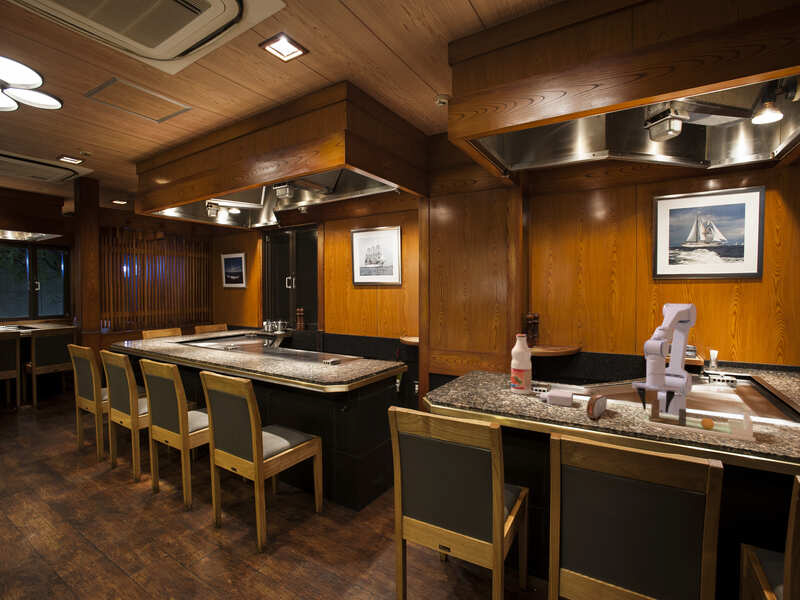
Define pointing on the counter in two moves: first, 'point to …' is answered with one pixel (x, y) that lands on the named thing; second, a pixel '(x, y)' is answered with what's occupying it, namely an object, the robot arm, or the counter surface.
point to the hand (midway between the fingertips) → (655, 410)
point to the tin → (596, 406)
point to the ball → (707, 423)
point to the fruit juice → (521, 366)
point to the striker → (656, 418)
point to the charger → (558, 397)
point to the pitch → (730, 430)
